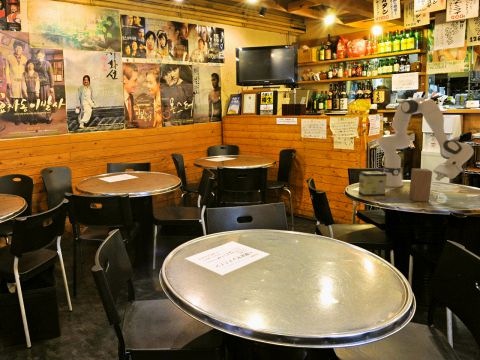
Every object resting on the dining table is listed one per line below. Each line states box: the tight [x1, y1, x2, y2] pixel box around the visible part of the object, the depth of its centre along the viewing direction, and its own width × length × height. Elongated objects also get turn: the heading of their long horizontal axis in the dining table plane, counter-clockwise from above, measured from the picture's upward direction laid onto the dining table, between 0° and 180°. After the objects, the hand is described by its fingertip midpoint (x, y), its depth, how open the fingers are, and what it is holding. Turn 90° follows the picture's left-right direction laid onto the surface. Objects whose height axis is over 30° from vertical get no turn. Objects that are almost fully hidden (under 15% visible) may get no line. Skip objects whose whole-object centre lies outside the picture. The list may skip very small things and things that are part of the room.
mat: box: [373, 197, 417, 204], centre depth 277 cm, size 13×22×1 cm, turn 95°
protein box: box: [358, 170, 387, 197], centre depth 293 cm, size 10×16×16 cm
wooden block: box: [408, 167, 433, 203], centre depth 277 cm, size 10×10×20 cm
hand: (436, 179), depth 277 cm, fingers closed
